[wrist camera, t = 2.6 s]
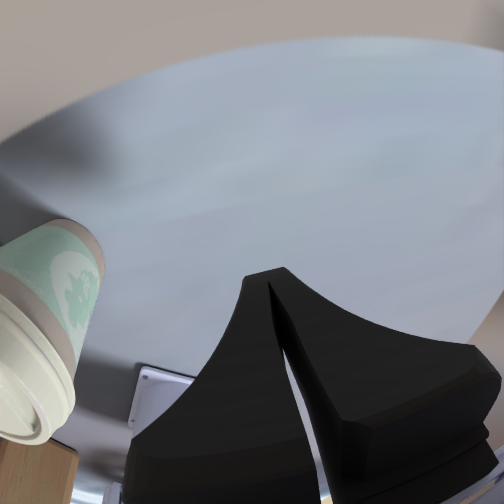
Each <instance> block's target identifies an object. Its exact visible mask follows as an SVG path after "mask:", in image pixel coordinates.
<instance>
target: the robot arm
mask: <svg viewBox="0 0 504 504" xmlns="http://www.w3.org/2000/svg"><path fill="white" fill-rule="evenodd" d="M282 347H283V348H282ZM283 350H284V352H285V355H286V357H287V360H288V362H289V365H290V367H291V370H292V372H293V375H294V377H295V380H296V382H297V385H298V387H299V389H300V392H301V394H302V397H303V399H304V402H305V405H306V408H307V410H308V414H309V417H310V421H311V424H312V428H313V431H314V435H315V438H316V442H317V445H318V449H319V453H320V456H321V460H322V464H323V467H324V471H325V475H326V478H327V482H328V486H329V490H330V494H331V497H332V501H333V504H459V503H461V502H463V501H464V500H466V499H468V498H469V497H471V496H473V495H474V494H476V493H477V492H479V491H480V490H482V489H483V488H485V487H486V486H488V485H489V484H491V483H492V482H494V481H495V480H496V479H497V480H496V482H495V484H494V486H493V487H492V488H490V489H489V490H488V491H486V492H485V493H484V494H482V495H481V496H479V497H478V498H476V499H475V500H473V501H472V502H471V503H469V504H504V445H503V446H502V447H501V448H499V449H498V450H496V451H495V452H493V451H492V449H491V448H490V446H489V444H488V443H487V441H486V440H485V439H487V438H488V436H489V431H488V430H487V428H486V427H485V425H484V424H483V421H484V420H485V418H486V416H487V415H488V413H489V411H490V410H491V408H492V406H493V404H494V402H495V401H496V399H497V396H498V394H499V392H500V389H501V380H502V378H501V376H500V374H499V373H498V371H497V370H496V369H495V368H494V366H493V365H492V364H491V363H490V361H489V360H488V359H487V358H486V357H485V356H484V355H483V354H482V353H481V351H479V349H478V348H476V347H475V345H469V344H460V343H452V342H445V341H437V340H432V339H427V338H423V337H418V336H414V335H410V334H406V333H403V332H399V331H396V330H393V329H390V328H387V327H384V326H381V325H378V324H375V323H373V322H370V321H368V320H365V319H363V318H361V317H359V316H357V315H355V314H352V313H350V312H348V311H346V310H344V309H342V308H340V307H339V306H337V305H335V304H334V303H332V302H330V301H329V300H327V299H326V298H324V297H323V296H321V295H320V294H318V293H317V292H315V291H314V290H313V289H311V288H310V287H308V286H307V285H306V284H304V283H303V282H302V281H301V280H299V279H298V278H297V277H296V276H294V275H293V274H292V273H291V272H290V271H289V270H288V269H286V268H285V267H280V268H276V269H272V270H268V271H264V272H260V273H256V274H252V275H248V276H245V277H244V279H243V281H242V287H241V291H240V295H239V298H238V301H237V304H236V307H235V310H234V312H233V315H232V317H231V320H230V322H229V324H228V326H227V328H226V330H225V332H224V335H223V337H222V338H221V340H220V342H219V344H218V346H217V347H216V349H215V351H214V352H213V354H212V356H211V357H210V359H209V360H208V362H207V363H206V365H205V366H204V367H203V369H202V370H201V372H200V373H199V374H198V376H197V377H196V378H195V379H193V378H189V377H185V376H181V375H177V374H173V373H169V372H166V371H162V370H158V369H155V368H151V367H148V366H143V367H142V368H141V370H140V374H139V378H138V382H137V386H136V390H135V394H134V398H133V402H132V407H131V411H130V415H129V420H128V426H129V427H130V428H133V433H132V440H131V445H130V448H129V452H128V455H127V460H126V465H125V472H124V480H123V488H122V484H120V483H117V482H114V483H113V484H112V485H110V486H108V487H106V489H105V492H104V496H103V502H102V504H321V499H320V492H319V485H318V478H317V471H316V466H315V462H314V459H313V455H312V452H311V448H310V445H309V441H308V437H307V434H306V431H305V428H304V425H303V422H302V419H301V416H300V413H299V410H298V407H297V403H296V400H295V397H294V394H293V391H292V388H291V384H290V381H289V378H288V375H287V371H286V367H285V360H284V354H283ZM144 375H146V376H144Z"/></svg>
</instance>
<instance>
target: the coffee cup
mask: <svg viewBox="0 0 504 504" xmlns="http://www.w3.org/2000/svg"><path fill="white" fill-rule="evenodd" d="M104 274H105V260H104V255H103V252H102V249H101V247H100V245H99V243H98V242H97V240H96V239H95V237H94V236H93V235H92V234H91V233H90V232H89V231H88V230H87V229H86V228H85V227H83V226H82V225H80V224H78V223H76V222H74V221H71V220H67V219H55V220H51V221H49V222H47V223H45V224H43V225H41V226H39V227H37V228H35V229H33V230H31V231H29V232H27V233H25V234H23V235H22V236H20V237H18V238H16V239H14V240H12V241H11V242H9V243H7V244H5V245H4V246H2V247H0V436H1V437H3V438H6V439H8V440H11V441H14V442H17V443H21V444H27V445H38V444H42V443H44V442H46V441H47V440H48V439H49V438H50V437H51V435H52V434H53V433H54V431H55V430H56V429H57V428H59V427H61V426H62V425H63V424H64V423H65V422H66V420H67V418H68V415H69V414H70V413H71V412H72V410H73V408H74V405H75V390H74V386H73V380H74V376H75V372H76V368H77V364H78V360H79V357H80V353H81V349H82V345H83V342H84V338H85V335H86V331H87V328H88V325H89V321H90V318H91V315H92V312H93V308H94V305H95V302H96V299H97V296H98V293H99V290H100V287H101V284H102V281H103V278H104Z"/></svg>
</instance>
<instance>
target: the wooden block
mask: <svg viewBox="0 0 504 504" xmlns="http://www.w3.org/2000/svg"><path fill="white" fill-rule="evenodd" d="M78 462H79V457H78V453H77V452H75V451H74V450H72V449H70V448H68V447H66V446H64V445H62V444H59V443H57V442H55V441H53V440H52V439H50V438H49V439H48V440H47V441H46V442H44V443H42V444H38V445H27V444H21V443H17V442H14V441H11V440H8V439H6V438H2V441H1V444H0V504H70V501H71V495H72V490H73V485H74V480H75V476H76V471H77V467H78Z"/></svg>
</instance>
